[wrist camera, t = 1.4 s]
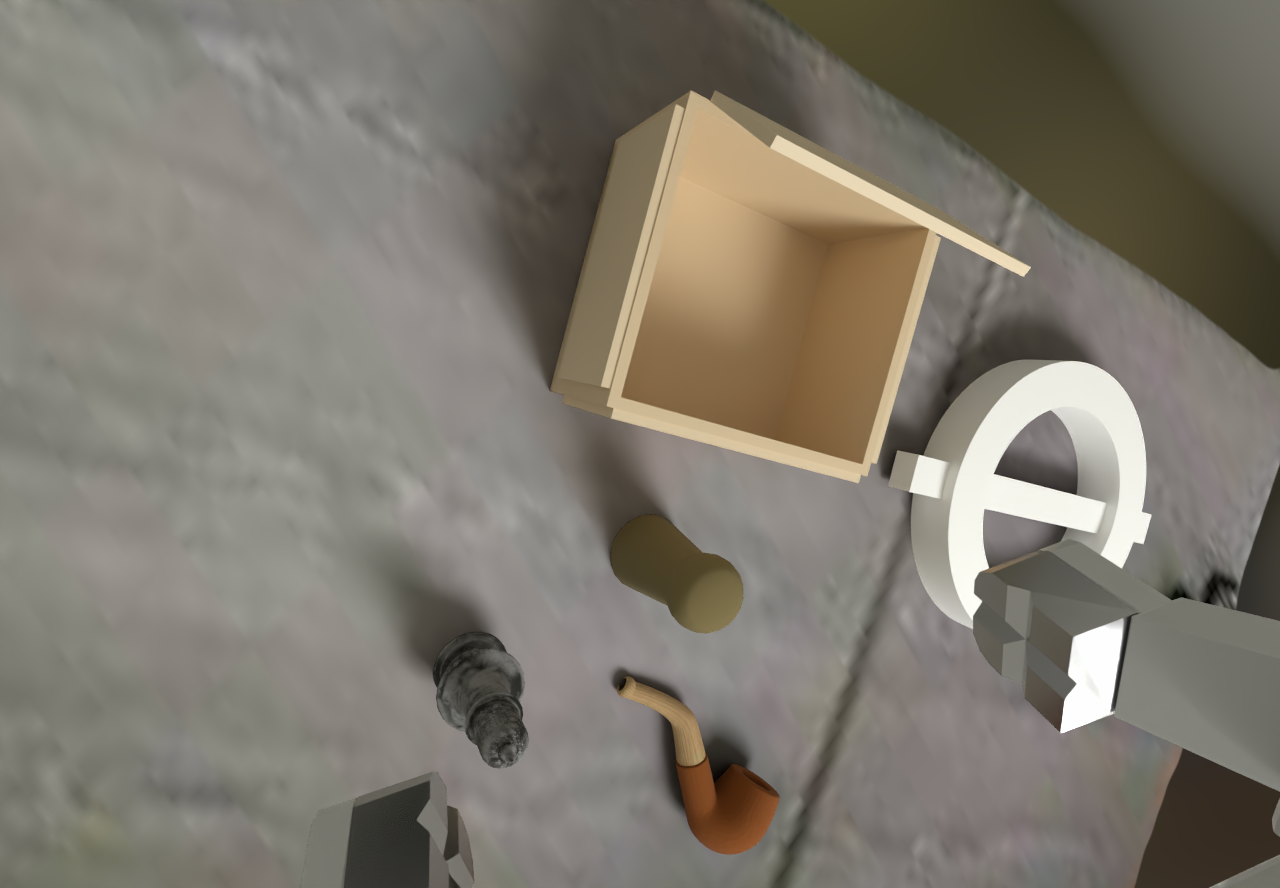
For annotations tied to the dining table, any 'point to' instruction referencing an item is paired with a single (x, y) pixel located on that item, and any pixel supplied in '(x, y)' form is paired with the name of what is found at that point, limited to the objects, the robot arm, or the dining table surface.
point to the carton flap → (863, 182)
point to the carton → (742, 297)
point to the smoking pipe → (710, 782)
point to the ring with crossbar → (966, 484)
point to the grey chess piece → (483, 696)
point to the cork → (677, 574)
